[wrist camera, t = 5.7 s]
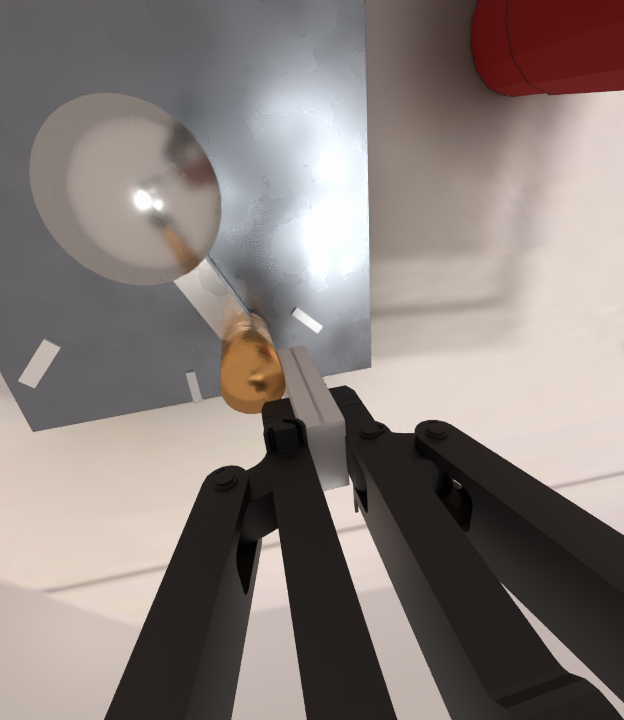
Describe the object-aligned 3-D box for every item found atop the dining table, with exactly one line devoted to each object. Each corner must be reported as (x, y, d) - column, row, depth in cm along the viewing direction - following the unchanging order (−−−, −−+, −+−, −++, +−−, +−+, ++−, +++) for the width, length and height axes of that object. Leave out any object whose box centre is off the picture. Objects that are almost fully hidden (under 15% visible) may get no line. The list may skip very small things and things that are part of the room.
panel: (-243, -148, 11) (-316, -202, 10) (349, -117, 15) (364, -154, 13) (45, 417, 21) (31, 434, 19) (362, 358, 24) (372, 368, 23)
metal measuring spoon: (11, 166, 14) (-120, 145, 9) (150, 69, 14) (104, -16, 9) (208, 384, 20) (203, 452, 15) (309, 318, 20) (341, 362, 15)
